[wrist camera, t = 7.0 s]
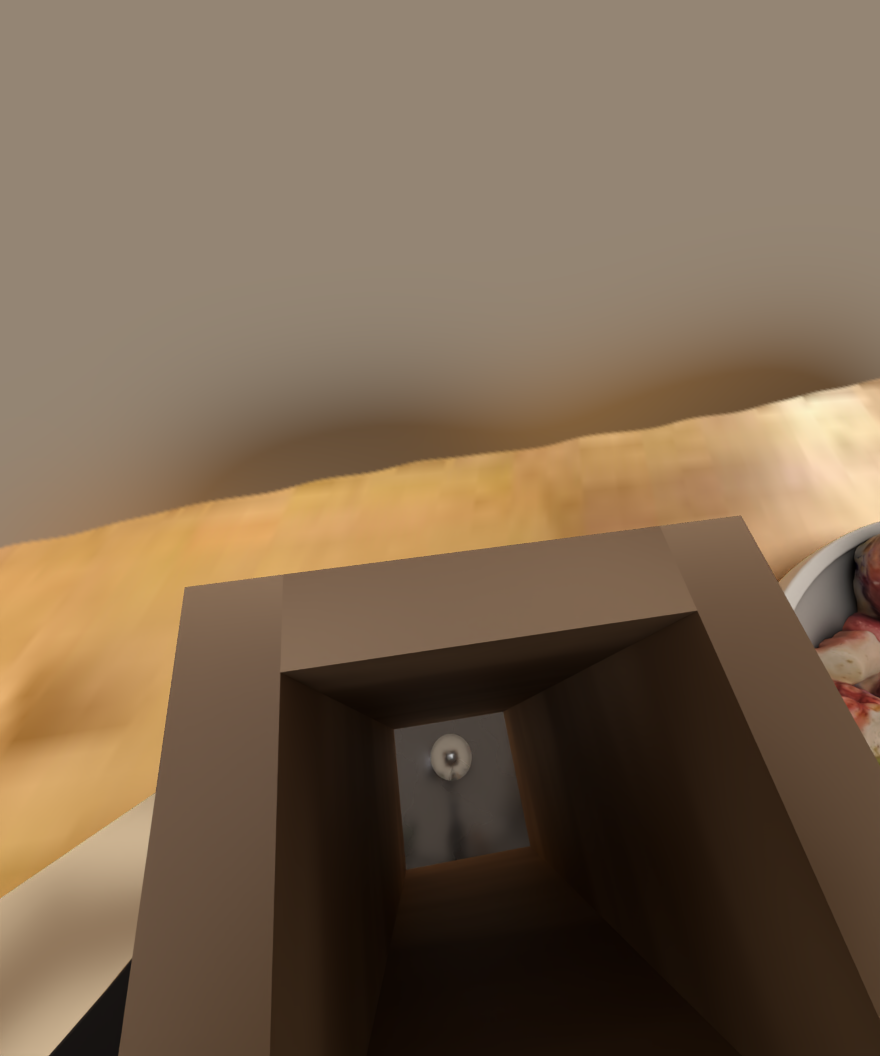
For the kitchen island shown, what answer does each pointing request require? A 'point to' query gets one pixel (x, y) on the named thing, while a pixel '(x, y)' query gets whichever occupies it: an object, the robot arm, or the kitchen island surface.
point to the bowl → (845, 619)
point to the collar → (548, 804)
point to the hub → (458, 790)
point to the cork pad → (70, 934)
